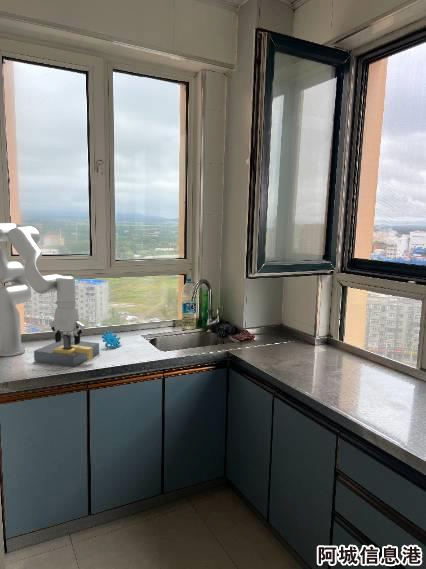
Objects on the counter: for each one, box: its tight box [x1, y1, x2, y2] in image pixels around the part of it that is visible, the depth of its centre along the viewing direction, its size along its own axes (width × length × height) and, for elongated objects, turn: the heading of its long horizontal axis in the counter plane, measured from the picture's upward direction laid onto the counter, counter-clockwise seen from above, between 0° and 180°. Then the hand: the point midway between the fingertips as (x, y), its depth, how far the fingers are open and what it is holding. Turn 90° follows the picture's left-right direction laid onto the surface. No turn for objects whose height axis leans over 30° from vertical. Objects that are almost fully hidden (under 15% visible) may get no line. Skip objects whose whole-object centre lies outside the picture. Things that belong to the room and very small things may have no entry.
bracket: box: [53, 345, 94, 361], centre depth 188 cm, size 16×9×5 cm, turn 73°
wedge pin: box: [62, 333, 71, 350], centre depth 188 cm, size 3×3×12 cm
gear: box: [101, 330, 122, 349], centre depth 212 cm, size 11×6×10 cm
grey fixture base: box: [33, 331, 100, 368], centre depth 193 cm, size 20×20×15 cm
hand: (67, 342), depth 188 cm, fingers open, 9 cm apart
